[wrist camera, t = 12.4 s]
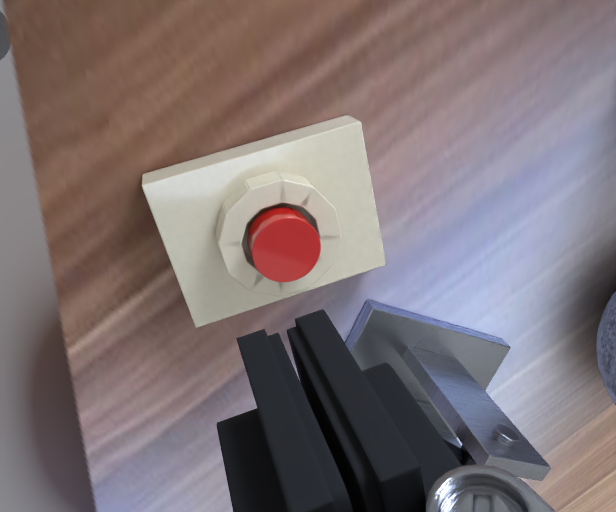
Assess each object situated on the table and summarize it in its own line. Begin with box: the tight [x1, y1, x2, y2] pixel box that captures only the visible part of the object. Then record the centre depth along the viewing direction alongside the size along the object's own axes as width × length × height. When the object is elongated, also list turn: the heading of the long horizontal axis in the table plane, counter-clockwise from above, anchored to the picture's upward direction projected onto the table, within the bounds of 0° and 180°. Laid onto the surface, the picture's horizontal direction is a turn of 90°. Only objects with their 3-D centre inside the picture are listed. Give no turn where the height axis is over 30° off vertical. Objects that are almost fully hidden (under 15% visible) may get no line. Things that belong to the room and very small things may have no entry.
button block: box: [142, 115, 386, 328], centre depth 31 cm, size 12×9×4 cm
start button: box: [247, 207, 321, 282], centre depth 29 cm, size 4×4×2 cm
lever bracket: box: [345, 300, 551, 481], centre depth 36 cm, size 12×9×12 cm
